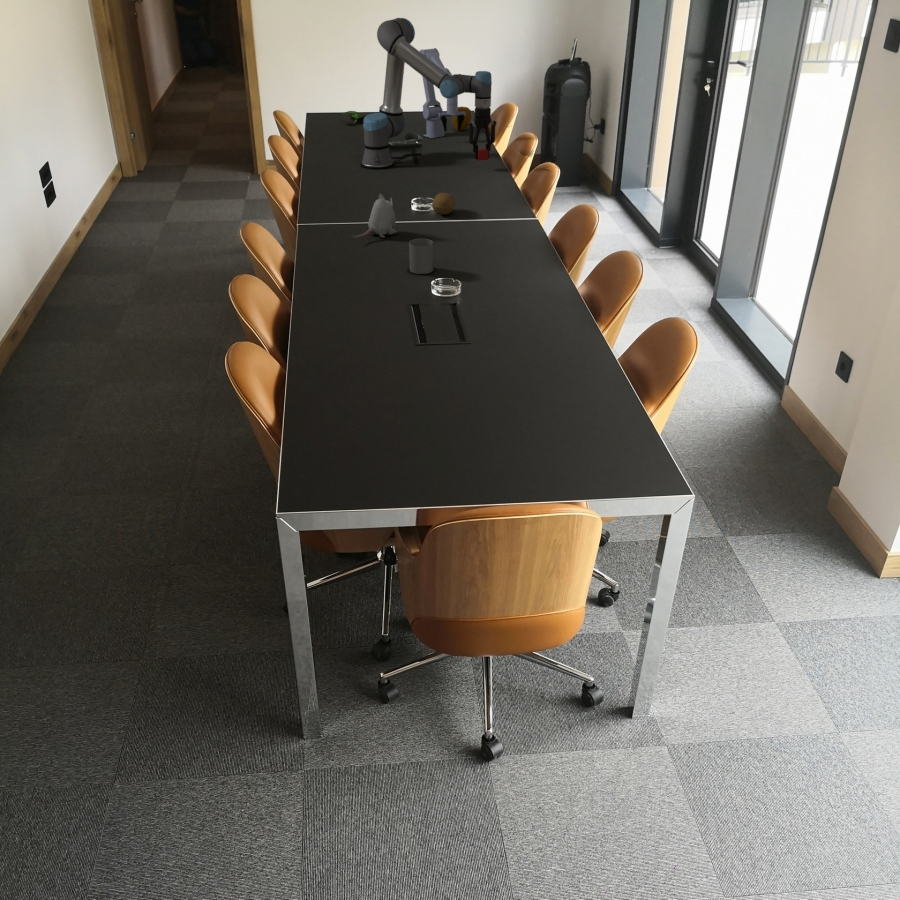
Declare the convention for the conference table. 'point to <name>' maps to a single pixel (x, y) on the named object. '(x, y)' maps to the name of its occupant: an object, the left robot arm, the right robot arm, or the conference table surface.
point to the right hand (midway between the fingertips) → (452, 130)
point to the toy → (381, 218)
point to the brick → (482, 154)
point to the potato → (443, 203)
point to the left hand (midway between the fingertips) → (481, 158)
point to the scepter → (355, 117)
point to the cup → (421, 256)
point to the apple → (465, 121)
